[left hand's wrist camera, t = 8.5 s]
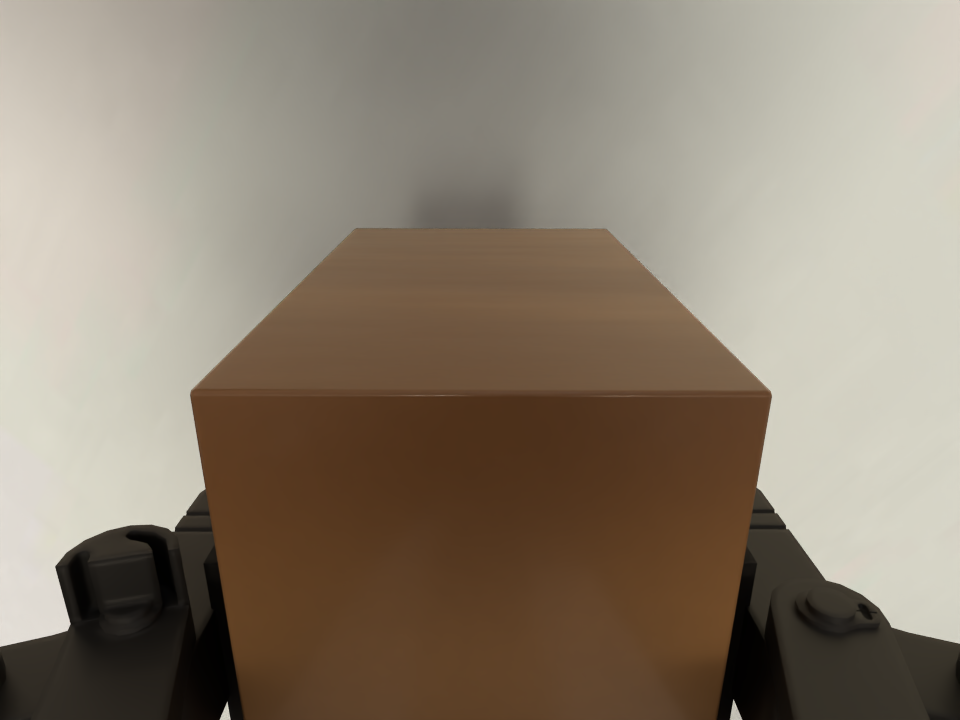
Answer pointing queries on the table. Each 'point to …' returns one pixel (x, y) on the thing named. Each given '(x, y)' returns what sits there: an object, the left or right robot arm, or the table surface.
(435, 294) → the bar
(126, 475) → the table surface
